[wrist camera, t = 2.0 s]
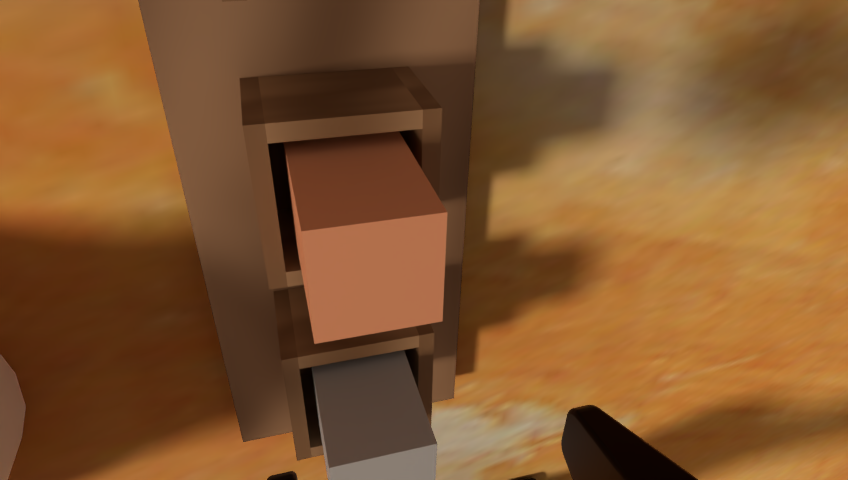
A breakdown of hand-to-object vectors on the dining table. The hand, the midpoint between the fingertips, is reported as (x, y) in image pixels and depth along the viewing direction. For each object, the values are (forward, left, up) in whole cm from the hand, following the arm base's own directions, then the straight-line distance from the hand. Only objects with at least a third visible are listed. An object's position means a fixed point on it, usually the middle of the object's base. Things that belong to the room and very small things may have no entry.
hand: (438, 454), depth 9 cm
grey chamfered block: (0, +7, -9) cm, 12 cm away
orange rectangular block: (0, 0, -9) cm, 9 cm away
